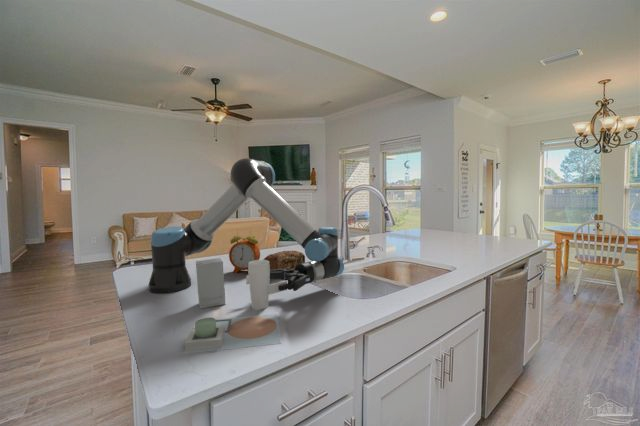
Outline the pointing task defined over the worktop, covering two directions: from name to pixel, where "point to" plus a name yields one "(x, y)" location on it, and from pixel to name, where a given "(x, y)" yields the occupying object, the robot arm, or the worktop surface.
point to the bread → (285, 260)
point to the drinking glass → (259, 283)
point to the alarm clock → (243, 252)
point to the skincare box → (210, 282)
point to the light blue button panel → (247, 332)
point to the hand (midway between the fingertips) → (256, 284)
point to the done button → (205, 327)
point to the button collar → (205, 340)
